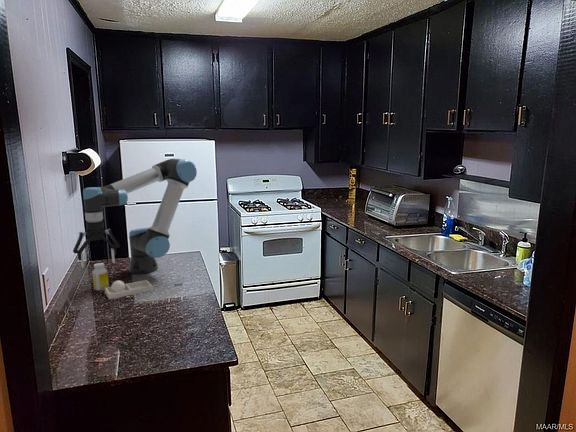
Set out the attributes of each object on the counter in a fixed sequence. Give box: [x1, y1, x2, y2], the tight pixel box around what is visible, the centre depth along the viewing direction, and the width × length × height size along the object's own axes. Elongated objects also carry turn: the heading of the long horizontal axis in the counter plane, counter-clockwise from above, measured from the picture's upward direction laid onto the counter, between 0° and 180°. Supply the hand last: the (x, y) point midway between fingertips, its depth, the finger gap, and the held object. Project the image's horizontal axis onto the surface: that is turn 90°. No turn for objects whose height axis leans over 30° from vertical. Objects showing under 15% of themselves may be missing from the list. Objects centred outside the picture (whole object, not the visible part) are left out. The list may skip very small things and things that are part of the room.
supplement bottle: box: [91, 262, 110, 291], centre depth 202 cm, size 7×7×13 cm
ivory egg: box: [110, 280, 126, 293], centre depth 196 cm, size 6×6×6 cm
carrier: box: [104, 279, 154, 300], centre depth 199 cm, size 20×11×3 cm, turn 124°
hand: (98, 264), depth 201 cm, fingers open, 13 cm apart
